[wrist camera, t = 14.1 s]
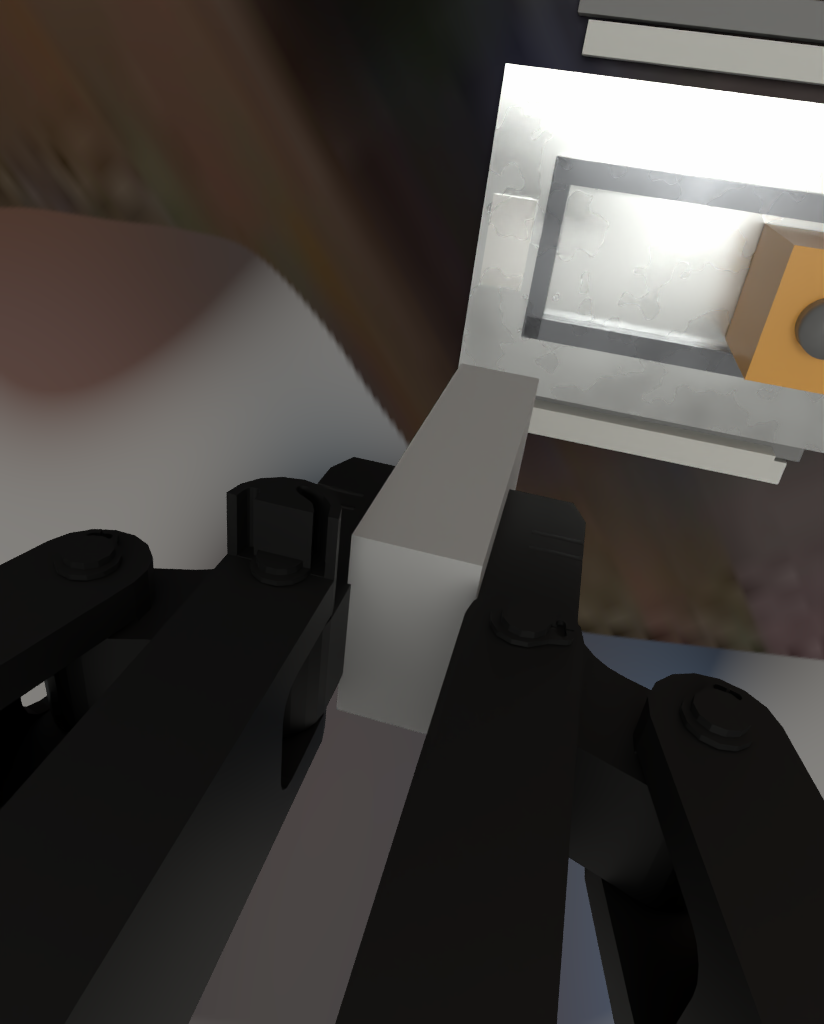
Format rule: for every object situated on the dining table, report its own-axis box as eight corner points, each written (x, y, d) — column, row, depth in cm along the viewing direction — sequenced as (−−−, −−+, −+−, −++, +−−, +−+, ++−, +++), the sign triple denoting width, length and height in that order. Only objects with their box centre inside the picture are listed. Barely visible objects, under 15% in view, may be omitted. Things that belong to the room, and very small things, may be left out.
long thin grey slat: (509, 420, 40) (503, 436, 38) (518, 375, 38) (513, 389, 36) (783, 476, 37) (793, 497, 35) (803, 431, 36) (814, 449, 34)
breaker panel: (463, 368, 39) (452, 385, 36) (511, 66, 32) (502, 61, 29) (854, 444, 36) (872, 470, 33) (1003, 129, 29) (1040, 130, 26)
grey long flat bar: (571, 54, 31) (570, 52, 30) (585, -20, 30) (585, -25, 29) (931, 99, 29) (942, 98, 28) (964, 21, 28) (977, 17, 26)
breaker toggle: (725, 338, 33) (748, 387, 27) (764, 223, 30) (800, 249, 24) (816, 355, 32) (861, 409, 26) (865, 238, 30) (926, 269, 24)
